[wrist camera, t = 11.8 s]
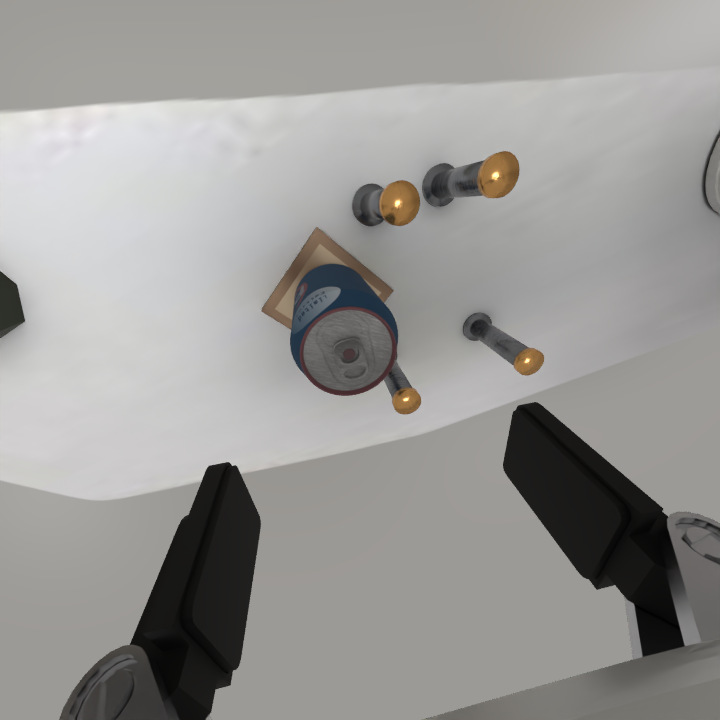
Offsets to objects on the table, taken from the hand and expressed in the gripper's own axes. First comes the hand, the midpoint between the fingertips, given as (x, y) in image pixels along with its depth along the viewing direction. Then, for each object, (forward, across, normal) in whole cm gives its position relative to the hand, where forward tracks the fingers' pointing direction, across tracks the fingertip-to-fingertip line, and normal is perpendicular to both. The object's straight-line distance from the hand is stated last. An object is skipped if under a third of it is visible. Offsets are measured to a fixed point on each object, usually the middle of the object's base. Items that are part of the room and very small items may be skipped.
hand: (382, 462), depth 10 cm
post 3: (+21, -11, -8) cm, 25 cm away
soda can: (+20, 0, 0) cm, 20 cm away
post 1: (+21, -4, -7) cm, 23 cm away
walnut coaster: (+21, +1, 0) cm, 21 cm away
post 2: (+21, -4, +8) cm, 23 cm away
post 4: (+21, -15, +6) cm, 27 cm away
